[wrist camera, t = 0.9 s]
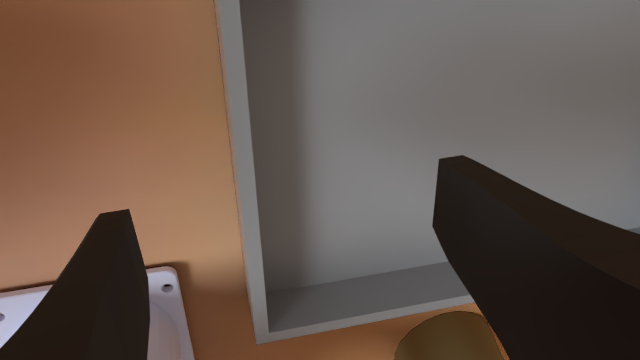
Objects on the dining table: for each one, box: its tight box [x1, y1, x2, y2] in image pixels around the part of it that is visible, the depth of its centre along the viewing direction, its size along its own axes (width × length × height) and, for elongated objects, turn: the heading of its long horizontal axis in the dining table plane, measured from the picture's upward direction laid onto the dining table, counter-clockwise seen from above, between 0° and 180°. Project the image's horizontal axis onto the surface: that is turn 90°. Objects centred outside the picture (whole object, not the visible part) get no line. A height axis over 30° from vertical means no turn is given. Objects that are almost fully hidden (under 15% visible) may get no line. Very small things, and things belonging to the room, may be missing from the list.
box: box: [214, 0, 640, 345], centre depth 24 cm, size 16×22×3 cm
